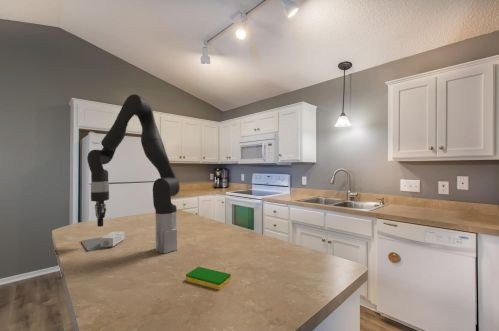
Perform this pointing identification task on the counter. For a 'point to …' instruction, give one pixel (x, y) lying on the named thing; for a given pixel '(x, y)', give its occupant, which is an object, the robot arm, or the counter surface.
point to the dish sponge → (208, 277)
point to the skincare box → (112, 239)
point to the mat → (93, 244)
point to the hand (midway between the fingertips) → (100, 226)
